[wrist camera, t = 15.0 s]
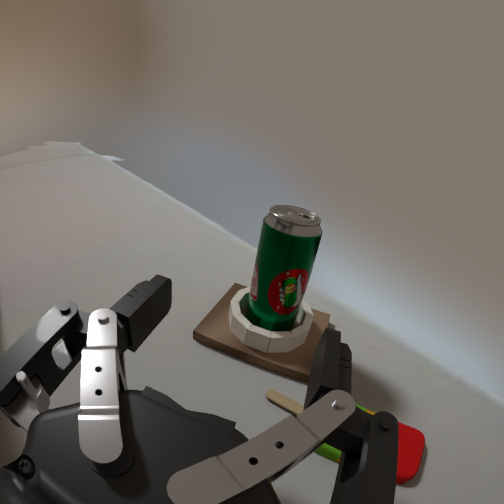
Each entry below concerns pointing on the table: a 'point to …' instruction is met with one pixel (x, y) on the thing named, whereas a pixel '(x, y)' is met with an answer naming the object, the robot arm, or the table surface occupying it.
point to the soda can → (283, 267)
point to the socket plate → (263, 335)
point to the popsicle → (408, 436)
